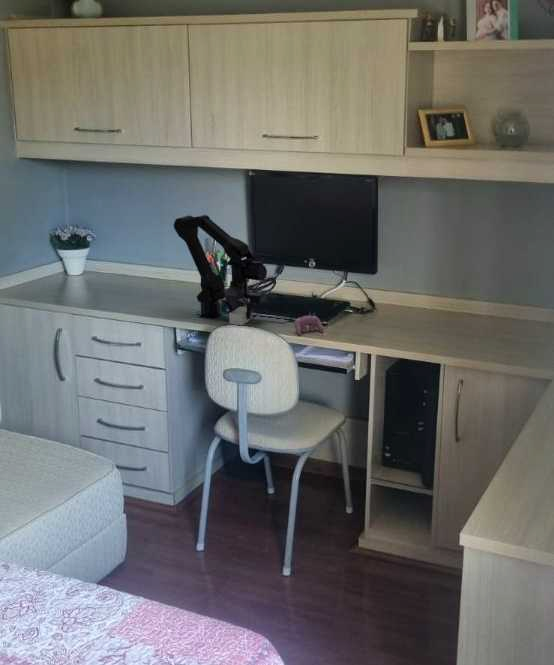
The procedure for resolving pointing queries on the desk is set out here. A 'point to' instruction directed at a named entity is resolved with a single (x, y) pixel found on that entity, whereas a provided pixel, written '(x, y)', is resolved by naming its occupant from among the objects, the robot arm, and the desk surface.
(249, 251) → the robot arm
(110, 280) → the desk surface
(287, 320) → the desk mat
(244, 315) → the card deck box
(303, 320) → the video game controller
